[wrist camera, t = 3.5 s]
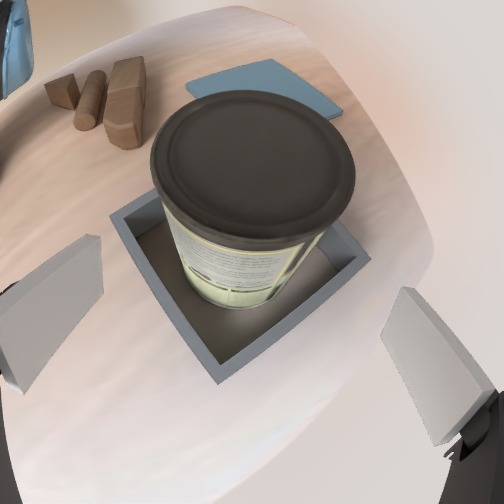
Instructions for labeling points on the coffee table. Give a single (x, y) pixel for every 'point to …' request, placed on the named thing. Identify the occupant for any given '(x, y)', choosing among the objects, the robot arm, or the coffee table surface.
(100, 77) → the wooden block set
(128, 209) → the bin
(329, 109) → the board
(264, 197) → the coffee can
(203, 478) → the coffee table surface
